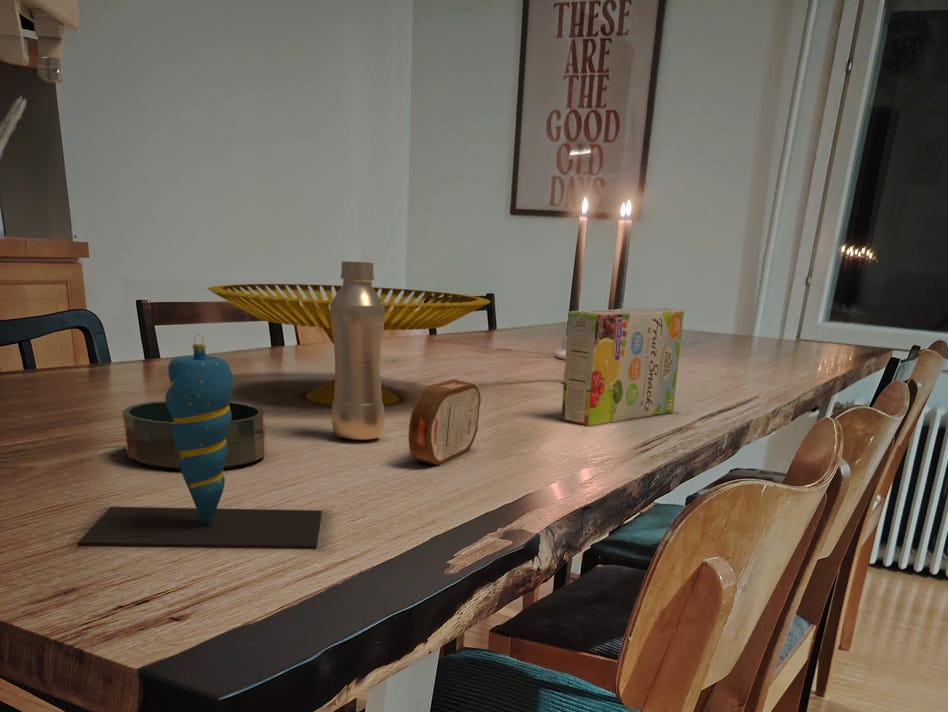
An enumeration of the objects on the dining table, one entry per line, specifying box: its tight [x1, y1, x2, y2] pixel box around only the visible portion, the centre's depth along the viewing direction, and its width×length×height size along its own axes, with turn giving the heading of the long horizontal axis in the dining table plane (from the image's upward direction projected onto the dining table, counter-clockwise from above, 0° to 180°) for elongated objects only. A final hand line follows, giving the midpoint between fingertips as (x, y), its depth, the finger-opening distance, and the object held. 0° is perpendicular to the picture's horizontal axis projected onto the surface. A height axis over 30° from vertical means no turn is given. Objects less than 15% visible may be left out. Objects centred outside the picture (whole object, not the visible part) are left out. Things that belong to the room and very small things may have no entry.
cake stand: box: [207, 283, 491, 406], centre depth 137 cm, size 40×40×15 cm
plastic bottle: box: [329, 260, 386, 442], centre depth 108 cm, size 6×7×20 cm
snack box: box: [560, 307, 685, 427], centre depth 133 cm, size 21×6×15 cm, turn 136°
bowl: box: [121, 400, 267, 471], centre depth 98 cm, size 14×14×5 cm
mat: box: [77, 506, 323, 550], centre depth 76 cm, size 18×10×1 cm, turn 97°
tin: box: [408, 378, 481, 466], centre depth 104 cm, size 15×3×8 cm, turn 159°
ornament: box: [165, 334, 235, 525], centre depth 73 cm, size 5×5×15 cm
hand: (34, 73), depth 78 cm, fingers open, 8 cm apart
